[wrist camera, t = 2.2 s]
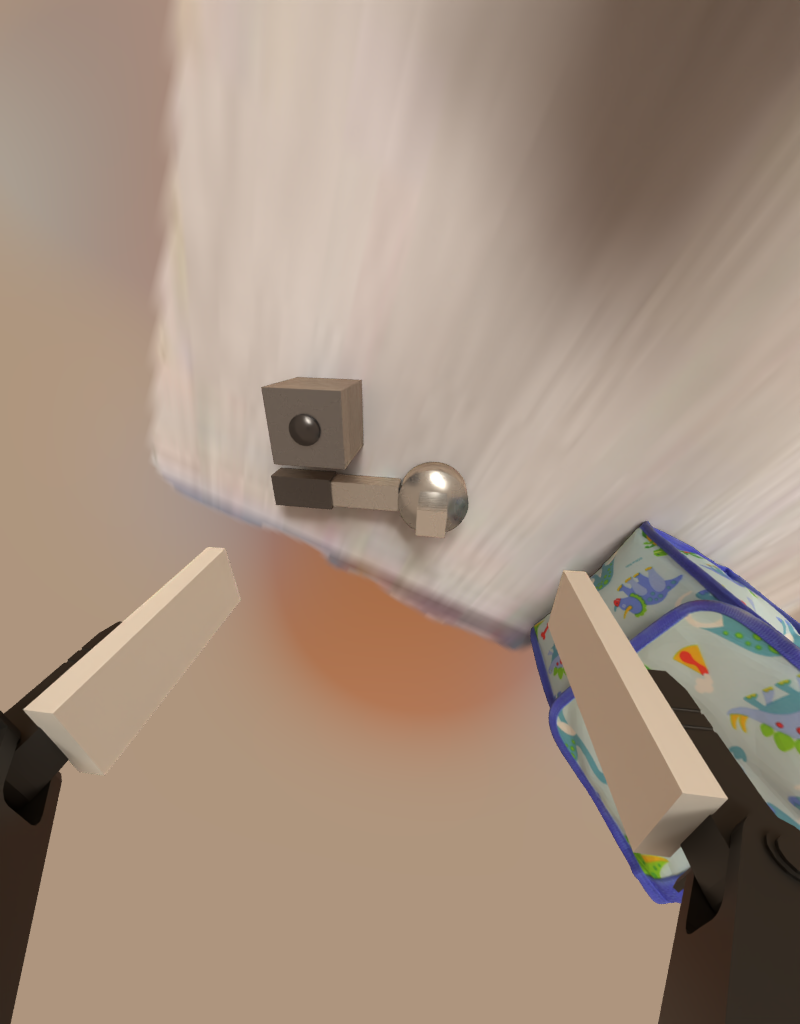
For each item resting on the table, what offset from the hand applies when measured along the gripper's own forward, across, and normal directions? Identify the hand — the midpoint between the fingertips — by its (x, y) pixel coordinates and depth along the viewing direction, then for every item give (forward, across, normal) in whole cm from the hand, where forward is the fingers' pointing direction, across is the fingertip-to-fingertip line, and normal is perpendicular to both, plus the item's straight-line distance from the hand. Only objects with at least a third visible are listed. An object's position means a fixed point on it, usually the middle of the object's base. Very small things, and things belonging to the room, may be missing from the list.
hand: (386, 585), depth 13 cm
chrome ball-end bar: (+26, -6, -7) cm, 28 cm away
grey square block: (+26, -10, +2) cm, 28 cm away
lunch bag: (+26, +26, -22) cm, 43 cm away
